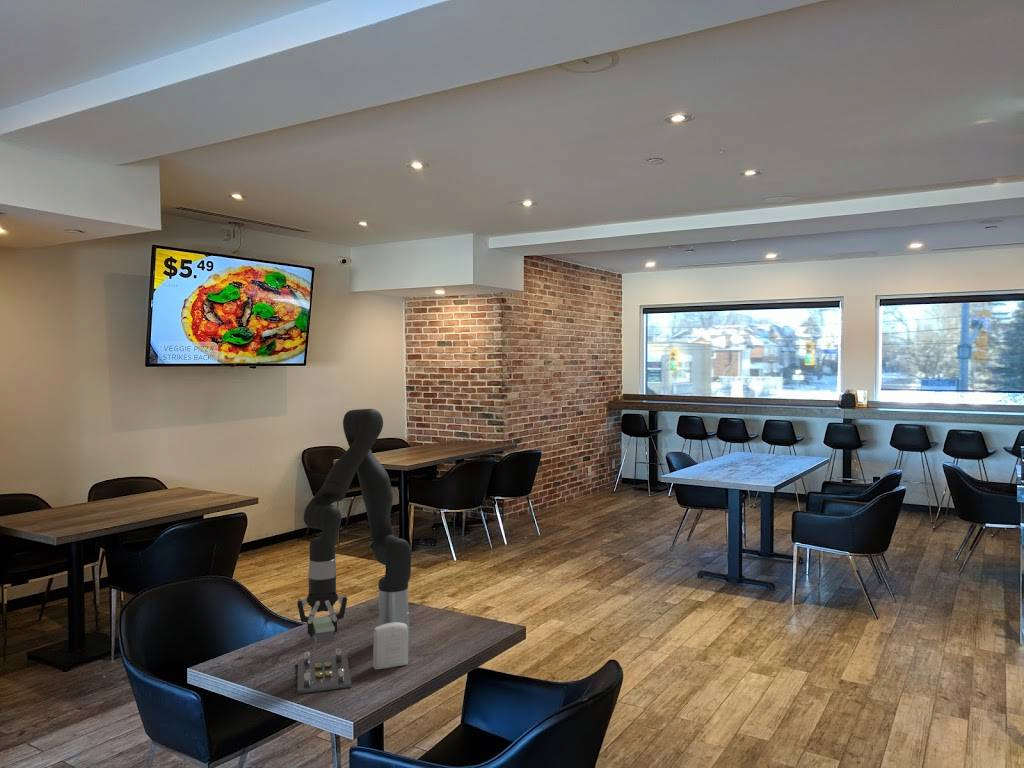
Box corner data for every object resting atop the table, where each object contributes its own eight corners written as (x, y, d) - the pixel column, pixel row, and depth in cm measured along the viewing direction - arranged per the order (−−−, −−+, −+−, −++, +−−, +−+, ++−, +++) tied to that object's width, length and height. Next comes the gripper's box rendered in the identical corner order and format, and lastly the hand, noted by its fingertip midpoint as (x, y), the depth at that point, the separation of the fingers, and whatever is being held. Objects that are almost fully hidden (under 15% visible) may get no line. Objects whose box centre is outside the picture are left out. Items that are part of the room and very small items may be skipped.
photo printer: (406, 659, 213) (405, 618, 213) (410, 665, 210) (409, 622, 209) (371, 666, 209) (371, 623, 209) (375, 671, 205) (374, 628, 205)
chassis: (346, 657, 215) (346, 644, 215) (351, 687, 195) (351, 672, 195) (297, 663, 211) (297, 649, 211) (297, 693, 191) (297, 679, 191)
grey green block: (328, 629, 209) (328, 616, 209) (334, 641, 199) (334, 627, 199) (310, 632, 207) (310, 618, 206) (316, 644, 197) (316, 629, 197)
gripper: (347, 569, 208) (347, 628, 209) (296, 573, 204) (295, 632, 205) (349, 576, 201) (349, 637, 201) (295, 580, 197) (295, 642, 197)
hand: (322, 634), depth 203 cm, fingers closed on grey green block, 5 cm apart
